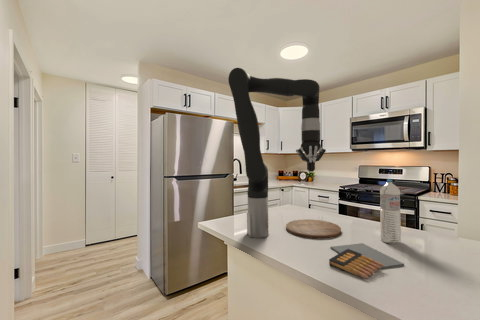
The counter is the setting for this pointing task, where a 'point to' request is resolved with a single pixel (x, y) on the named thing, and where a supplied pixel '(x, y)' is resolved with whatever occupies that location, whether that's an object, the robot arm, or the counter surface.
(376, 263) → the ammunition clip
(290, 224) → the trivet
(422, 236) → the counter surface
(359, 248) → the slate mat
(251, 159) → the robot arm
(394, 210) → the water bottle
